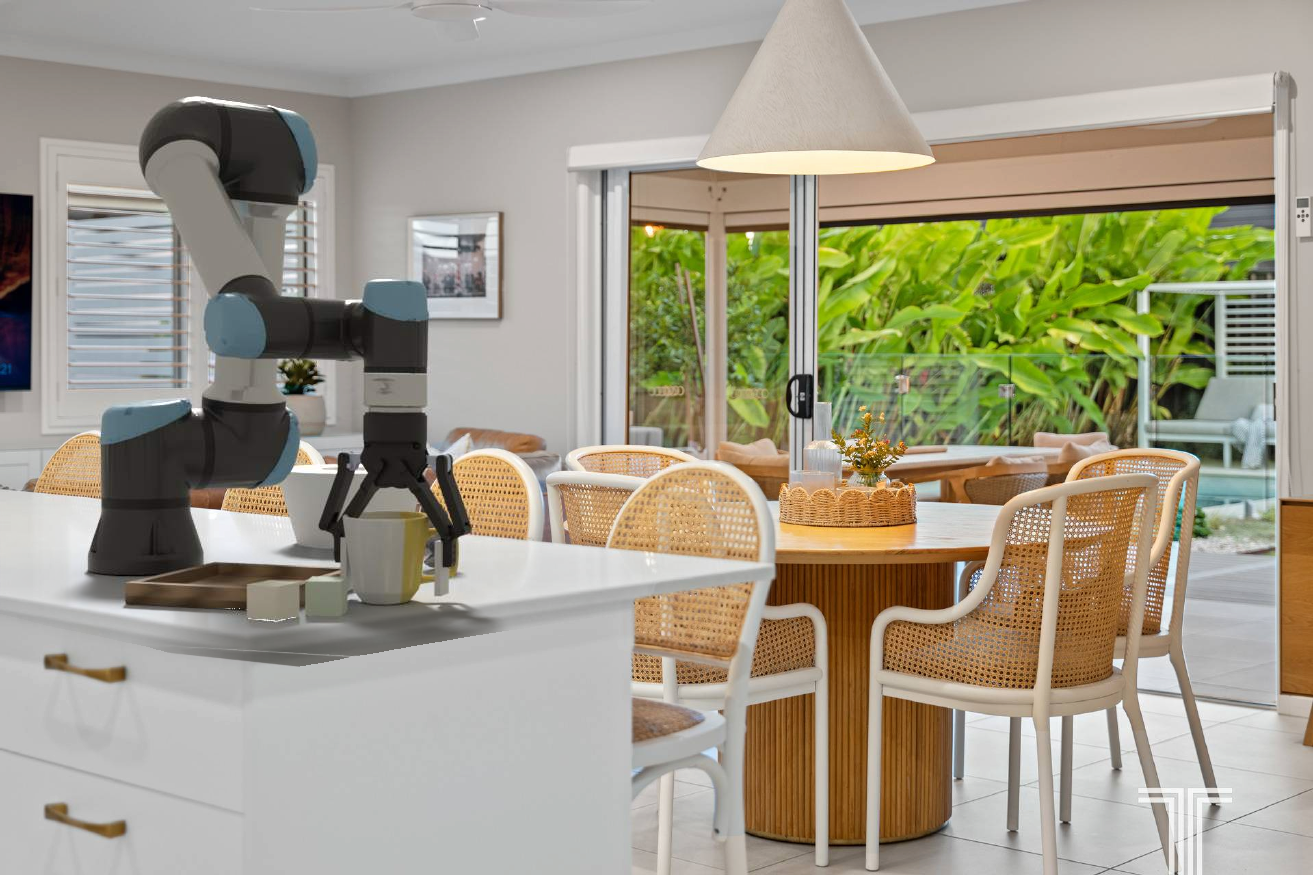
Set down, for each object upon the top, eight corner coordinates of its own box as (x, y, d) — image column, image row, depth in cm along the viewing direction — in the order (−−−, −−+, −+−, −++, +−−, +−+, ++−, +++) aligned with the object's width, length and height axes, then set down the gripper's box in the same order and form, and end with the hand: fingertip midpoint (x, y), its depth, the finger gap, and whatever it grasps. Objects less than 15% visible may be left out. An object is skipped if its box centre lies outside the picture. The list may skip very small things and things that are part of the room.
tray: (125, 603, 169) (125, 582, 169) (214, 580, 188) (214, 561, 188) (282, 612, 165) (282, 590, 164) (356, 587, 184) (357, 568, 184)
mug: (337, 608, 168) (337, 517, 167) (347, 594, 178) (347, 510, 177) (456, 607, 169) (457, 518, 168) (459, 594, 179) (460, 510, 179)
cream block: (247, 620, 159) (246, 584, 159) (270, 615, 163) (270, 579, 163) (276, 623, 158) (276, 586, 158) (299, 617, 161) (299, 582, 161)
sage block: (305, 616, 162) (305, 581, 162) (312, 610, 166) (312, 576, 166) (341, 616, 162) (341, 581, 162) (347, 611, 166) (347, 576, 166)
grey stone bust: (445, 570, 201) (445, 499, 200) (408, 569, 202) (408, 498, 202) (457, 566, 206) (458, 496, 206) (422, 564, 207) (422, 495, 207)
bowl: (415, 552, 222) (415, 474, 221) (258, 550, 222) (258, 472, 221) (436, 535, 246) (436, 464, 245) (294, 534, 246) (294, 463, 245)
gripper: (289, 409, 171) (289, 592, 172) (478, 412, 166) (477, 601, 167) (318, 407, 179) (317, 583, 180) (500, 411, 173) (498, 592, 174)
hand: (394, 592), depth 173 cm, fingers closed on mug, 11 cm apart
